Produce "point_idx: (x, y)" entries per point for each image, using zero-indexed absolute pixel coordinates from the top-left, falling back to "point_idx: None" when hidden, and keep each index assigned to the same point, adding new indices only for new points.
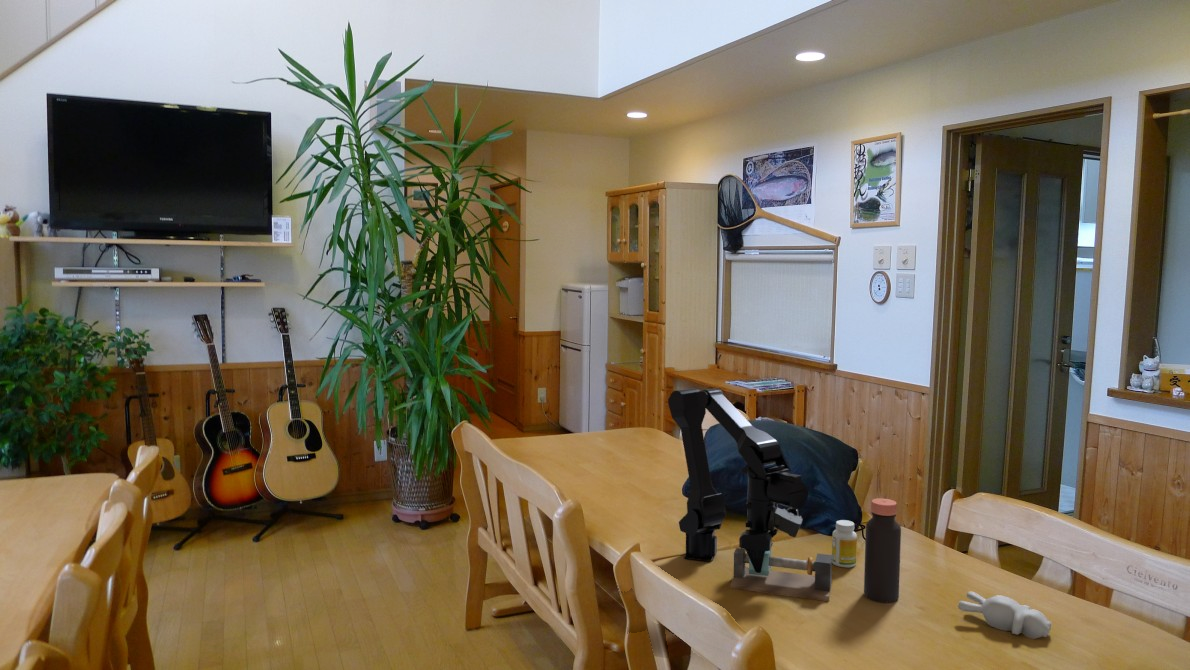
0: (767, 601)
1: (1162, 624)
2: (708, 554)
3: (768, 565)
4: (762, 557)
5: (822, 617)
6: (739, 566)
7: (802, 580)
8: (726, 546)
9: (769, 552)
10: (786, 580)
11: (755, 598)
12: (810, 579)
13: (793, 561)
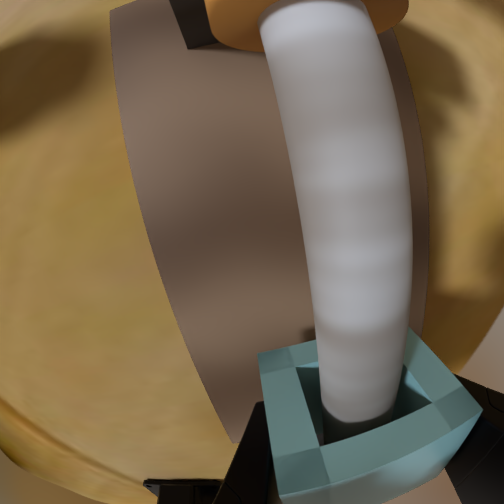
0: (471, 234)
1: None
2: (203, 496)
3: (413, 356)
4: (500, 398)
5: (477, 36)
6: None
7: (235, 121)
8: (85, 462)
9: (411, 439)
10: (289, 217)
11: (460, 282)
12: (189, 83)
13: (405, 170)
